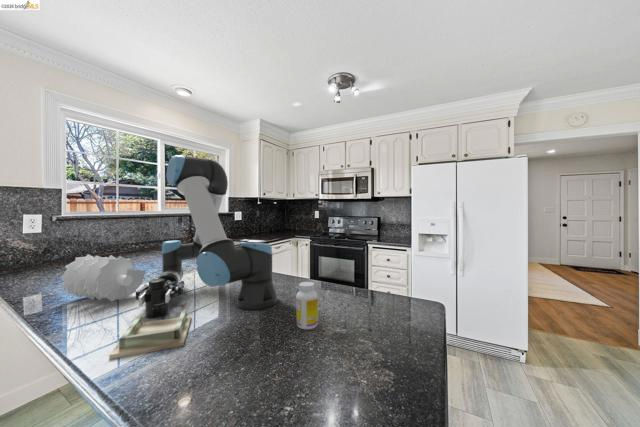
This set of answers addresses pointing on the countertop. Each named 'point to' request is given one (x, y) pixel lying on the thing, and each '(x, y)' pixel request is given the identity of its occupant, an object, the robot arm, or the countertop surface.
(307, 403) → the countertop surface
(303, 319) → the supplement bottle
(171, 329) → the beige tray
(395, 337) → the countertop surface
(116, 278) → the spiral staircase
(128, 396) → the countertop surface
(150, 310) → the supplement bottle
